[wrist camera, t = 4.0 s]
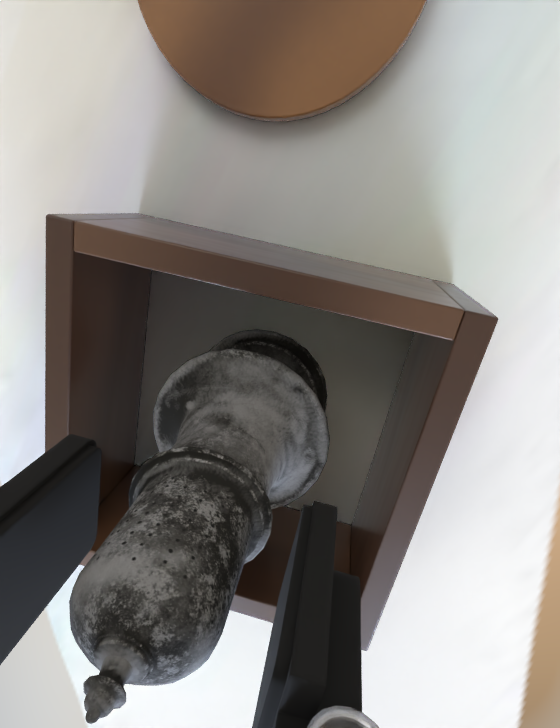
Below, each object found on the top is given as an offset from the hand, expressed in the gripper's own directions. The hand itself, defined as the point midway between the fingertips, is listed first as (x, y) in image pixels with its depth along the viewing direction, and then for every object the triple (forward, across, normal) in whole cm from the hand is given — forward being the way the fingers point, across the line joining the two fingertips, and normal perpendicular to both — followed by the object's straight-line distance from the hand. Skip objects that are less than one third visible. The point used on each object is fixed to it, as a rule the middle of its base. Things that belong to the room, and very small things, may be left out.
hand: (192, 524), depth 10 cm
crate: (+8, 0, 0) cm, 8 cm away
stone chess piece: (+8, 0, 0) cm, 8 cm away
